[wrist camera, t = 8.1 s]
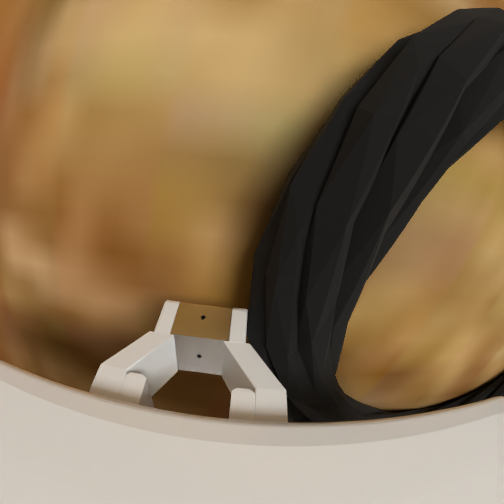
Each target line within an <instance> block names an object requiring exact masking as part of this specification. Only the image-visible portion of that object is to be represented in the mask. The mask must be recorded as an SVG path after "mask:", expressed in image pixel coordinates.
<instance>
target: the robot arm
mask: <svg viewBox="0 0 504 504" xmlns="http://www.w3.org/2000/svg"><path fill="white" fill-rule="evenodd" d="M247 312H248V311H247V309H241V308H233V310H232V308H227V307H217V306H208V305H200V304H193V303H187V302H178V301H172V300H167V301H166V302H165V303H164V306H163V308H162V311H161V314H160V316H159V319H158V322H157V324H156V327H155V330H154V332H152V331H149V332H148V333H146V334H145V335H143V336H142V337H140V338H139V339H137V340H136V341H134V342H133V343H131V344H130V345H129V346H127V347H126V348H124V349H123V350H121V351H120V352H118V353H117V354H115V355H114V356H112V357H111V358H109V359H108V360H106V361H105V362H103V363H102V364H101V365H100V367H99V369H98V372H97V374H96V376H95V378H94V381H93V383H92V385H91V388H90V390H89V392H86V391H83V390H80V389H76V388H73V387H70V386H67V385H64V384H61V383H58V382H55V381H52V380H49V379H47V378H44V377H41V376H39V375H36V374H33V373H31V372H28V371H26V370H23V369H21V368H18V367H16V366H14V365H11V364H9V363H7V362H4V361H2V360H0V504H504V397H503V396H497V397H493V398H489V399H486V400H483V401H479V402H475V403H471V404H466V405H462V406H458V407H453V408H448V409H443V410H438V411H432V412H427V413H421V414H414V415H407V416H400V417H392V418H383V419H373V420H360V421H344V422H311V423H298V422H288V416H287V396H286V389H285V388H284V387H283V386H282V384H281V383H280V382H279V381H278V379H277V378H276V377H275V376H274V374H273V373H272V372H271V370H270V369H269V368H268V367H267V365H266V364H265V363H264V361H263V360H262V359H261V358H260V356H259V355H258V354H257V352H256V351H255V350H254V348H253V347H252V346H251V344H248V343H246V329H247ZM178 370H185V371H194V372H202V373H209V374H216V375H222V378H223V380H224V381H225V383H226V385H227V387H228V389H229V391H230V392H231V403H230V412H229V419H225V418H216V417H207V416H199V415H192V414H185V413H179V412H173V411H167V410H162V409H156V408H155V407H154V404H153V401H152V396H153V395H154V394H155V393H156V392H157V391H158V390H159V389H160V388H161V387H162V386H163V385H164V384H165V383H166V382H167V381H168V380H169V379H170V378H171V377H172V376H174V375H175V374H176V373H177V372H178Z"/></svg>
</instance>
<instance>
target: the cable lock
mask: <svg viewBox="0 0 504 504" xmlns="http://www.w3.org/2000/svg"><path fill="white" fill-rule="evenodd" d="M503 119H504V10H502V9H500V8H472V9H458V10H456V11H454V12H452V13H451V14H449V15H447V16H445V17H444V18H442V19H440V20H439V21H437V22H435V23H434V24H432V25H430V26H429V27H427V28H426V29H424V30H422V31H421V32H418V33H415V34H412V35H410V36H407V37H404V38H402V39H399V40H398V41H397V42H396V43H395V44H394V45H393V46H392V47H391V48H390V49H389V50H388V51H387V52H386V53H385V54H384V55H383V56H382V57H381V58H380V59H379V60H378V61H377V62H376V63H375V64H374V65H373V66H372V67H371V68H370V69H369V70H368V71H367V72H366V73H365V74H364V75H363V76H362V77H361V78H360V79H359V80H358V81H357V82H356V83H355V84H354V85H353V86H352V87H351V88H350V89H349V90H348V91H347V92H346V93H345V94H344V95H343V97H342V98H341V99H340V101H339V102H338V104H337V106H336V107H335V109H334V111H333V113H332V114H331V116H330V117H329V119H328V120H327V121H326V123H325V124H324V126H323V127H322V128H321V130H320V131H319V133H318V134H317V135H316V137H315V138H314V139H313V141H312V142H311V144H310V145H309V146H308V148H307V149H306V151H305V152H304V153H303V155H302V156H301V158H300V159H299V160H298V162H297V163H296V165H295V166H294V167H293V169H292V170H291V172H290V174H289V176H288V178H287V181H286V183H285V185H284V187H283V190H282V192H281V194H280V197H279V199H278V201H277V204H276V206H275V208H274V211H273V213H272V215H271V218H270V220H269V222H268V225H267V227H266V229H265V232H264V234H263V236H262V239H261V241H260V243H259V246H258V248H257V250H256V253H255V255H254V264H253V274H252V284H251V293H250V303H249V310H248V322H247V336H248V339H249V343H250V344H251V346H252V347H253V348H254V350H255V351H256V352H257V354H258V355H259V356H260V358H261V359H262V360H263V361H264V363H265V364H266V365H267V367H268V368H269V369H270V370H271V372H272V373H273V374H274V376H275V377H276V378H277V379H278V381H279V382H280V383H281V384H282V386H283V387H284V388H285V389H286V396H287V416H288V422H298V423H311V422H344V421H360V420H373V419H383V418H392V417H400V416H407V415H414V414H421V413H427V412H432V411H438V410H443V409H448V408H453V407H458V406H462V405H466V404H471V403H475V402H479V401H483V400H486V399H489V398H493V397H497V396H503V397H504V375H502V376H501V377H500V378H499V379H497V380H495V381H494V382H492V383H490V384H488V385H486V386H484V387H482V388H480V389H479V390H477V391H475V392H473V393H471V394H469V395H467V396H465V397H463V398H461V399H459V400H457V401H455V402H452V403H449V404H445V405H441V406H436V407H430V408H424V409H418V410H412V411H406V412H399V413H396V412H387V411H383V410H380V409H377V408H374V407H371V406H367V405H364V404H361V403H360V402H358V401H356V400H355V399H353V398H351V397H349V396H348V395H346V394H345V393H344V392H343V390H342V389H341V387H340V386H339V384H338V382H337V379H336V376H335V374H336V370H337V366H338V362H339V358H340V354H341V350H342V346H343V342H344V338H345V333H346V329H347V324H348V321H349V319H350V316H351V314H352V312H353V310H354V308H355V305H356V303H357V301H358V299H359V296H360V294H361V292H362V289H363V287H364V285H365V282H366V280H367V279H368V278H369V276H370V275H371V274H372V272H373V271H374V270H375V268H376V267H377V266H378V264H379V263H380V262H381V260H382V259H383V258H384V256H385V255H386V254H387V252H388V251H389V249H390V248H391V247H392V245H393V244H394V242H395V241H396V239H397V238H398V237H399V235H400V234H401V232H402V231H403V229H404V228H405V226H406V225H407V223H408V222H409V221H410V219H411V218H412V216H413V215H414V213H415V211H416V210H417V208H418V207H419V205H420V204H421V202H422V201H423V200H424V198H425V197H426V196H427V195H428V193H429V192H430V191H431V190H432V188H433V187H434V186H435V185H436V183H437V182H438V181H439V179H440V178H441V177H442V175H443V174H444V173H445V172H446V170H447V169H448V168H449V167H450V166H451V165H453V164H454V163H455V162H456V161H457V160H458V159H459V158H461V157H462V156H463V155H464V154H465V153H466V152H467V151H469V150H470V149H471V148H472V147H473V146H474V145H475V144H476V143H478V142H479V141H480V140H481V139H482V138H483V137H484V136H485V135H486V134H487V133H489V132H490V131H491V130H492V129H493V128H494V127H495V126H496V125H497V124H498V123H499V122H500V121H502V120H503Z"/></svg>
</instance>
